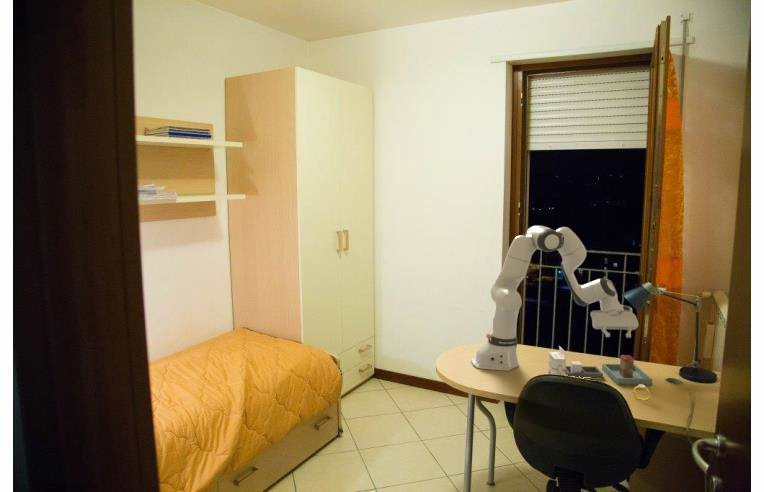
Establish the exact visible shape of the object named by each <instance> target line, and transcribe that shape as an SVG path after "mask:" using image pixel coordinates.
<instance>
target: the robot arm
mask: <svg viewBox="0 0 764 492" xmlns="http://www.w3.org/2000/svg"><path fill="white" fill-rule="evenodd" d="M537 250H539V251H543V252H545V253H552V252H555V251H556V250H557V251H558V254H560V256H561V259H562V261H561V263H560V268H561V273H563V277H564V279H565V281H566V284H567V285H568V287H569V290H570V293H571V296H572V299H573V301H574V302H575V304H576V305H579V306H581V307H586V306H588V305H591V304H592V303H595V302H598V301H599V305H600V306H599V308H600V310H591V311H590V313H589V314H590V317H591V318H590V319H591V321H592V322H591V324H592V328H593V329H595V330H601V332H603V334H604V335H605V338H610V337H611V333H610V332H608V331H607V330H625V331H627V332H626V333H625V337H626V338H627V339H628V338H629V339H630V338H632V334H631V332H632V331H635V330H637V328H638V327H639V325H640V324H639V321H638V318H637V316H636V314H635V313H633V308H632V307H630V306H628V305H623V304H621V303H620V301H619V300H618V297H619V296H618V293H617V290H616V287H615V286H614V284H613V282H612V280H609V279H605V278H604V277H602V278H596V279H595V280H592V281H590V282H589V281H588V282H587V283H584V284H579V283H578V280H577V278H576V276H575V274H574V272H575V271H576V269H578V268H579V267H580V266H581V265H582V264H583V263H584V261H585V260H586V257H587V249H586V247H585V246H584V244H583V242H582V241H581V239H580V238H579V237H578V236H577V234H576V233H575V232H574V231H573V230H572V229H571V228H569V227H567V226H561V227H559V228H557V229H556V230H555V229H552V228H550V227H547V226H545V225H541V224H535V225H532V226H530V227H529V228H528V229H527V230H526V232H525V233H524V234H521V235H517V236H515V237H514V239H513V240H512V242H511V244H510V245H509V248H508V251H507V253H506V256H505V259H504V262H503V265H502V268H501V271H500V273H499V275H498V276H497V279H496V280H495V283H494V284H493V285H492V286H491V288H490V295H491V296H490V297H491V299H492V300H493V301H494V303H495V313H494V317H493V319H492V334H491V333H489V332H488V333H486V334H485V335H486V336H485V337H486V338H487V342H485V343H484V344H482V345H481V346H479V347H478V348H477V350H476V354H475V355H473V356H472V357H471V362H470V363H471V364H472V366H474V367H475V368H477V369H482V370H485V369H486V370H494V371H505V372H510V371H511V370H512V369H515V368H517V367H518V366H520V364H519V361H518V353H517V346H518V336H517V323H518V317H519V316H518V315H519V312H520V308H521V307H522V304H523V303H522V302H523V301H522V297H521V294H520V293H519V292H518V291H517V289H518V287H519V286H520V284H521V282H522V281H523V280H524V279H525V278H526V275H527V272H528V269H529V266H530V263H531V261H532V256H533V254H535V252H536V251H537Z"/></svg>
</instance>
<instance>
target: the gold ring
mask: <svg viewBox="0 0 764 492" xmlns="http://www.w3.org/2000/svg"><path fill="white" fill-rule="evenodd" d="M638 388H639V389H644V390H646V391H647V392H648V395H647V397H645V398H643V397H639V396H637V395H636V393H635V390H636V389H638ZM632 394H633V397H634V398H635V399H636V400H641V401H647V400H649V398H650V397H651V391H650V390H649V388H648V387H647V386H645V385H642V384H639V385H638V386H635V387H634V388H633V392H632Z"/></svg>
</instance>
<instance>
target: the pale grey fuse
mask: <svg viewBox="0 0 764 492" xmlns="http://www.w3.org/2000/svg"><path fill="white" fill-rule="evenodd" d="M570 366H571V371H570V372H580V373H581V370H582V366H583V364H582V362H581V361H577V360H576V361H575V360H570Z"/></svg>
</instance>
